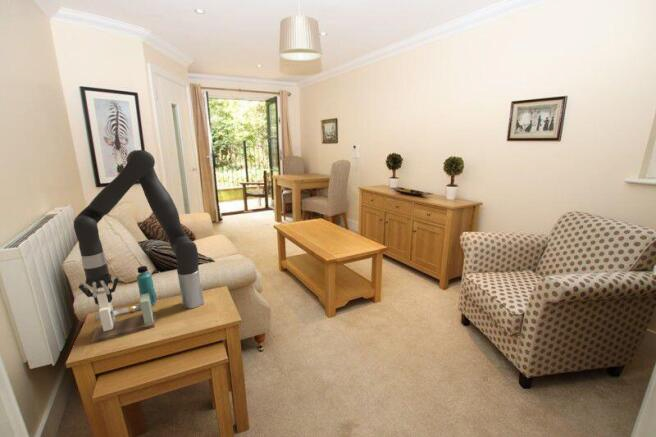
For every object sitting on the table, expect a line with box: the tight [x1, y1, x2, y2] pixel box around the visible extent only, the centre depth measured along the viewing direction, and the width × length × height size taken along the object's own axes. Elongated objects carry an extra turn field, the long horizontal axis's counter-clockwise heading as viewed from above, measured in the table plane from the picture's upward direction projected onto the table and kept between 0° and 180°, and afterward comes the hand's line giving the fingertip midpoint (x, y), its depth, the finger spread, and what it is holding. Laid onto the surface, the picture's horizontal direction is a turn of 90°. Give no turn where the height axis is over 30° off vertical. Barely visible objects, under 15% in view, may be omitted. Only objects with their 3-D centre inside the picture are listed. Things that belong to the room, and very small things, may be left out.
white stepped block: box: [97, 289, 116, 331], centre depth 128 cm, size 3×9×15 cm, turn 27°
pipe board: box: [91, 311, 156, 344], centre depth 133 cm, size 22×11×2 cm, turn 117°
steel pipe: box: [95, 303, 142, 321], centre depth 131 cm, size 18×3×3 cm, turn 117°
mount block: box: [139, 293, 154, 324], centre depth 135 cm, size 3×8×10 cm, turn 27°
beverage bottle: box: [136, 265, 157, 305], centre depth 149 cm, size 6×7×20 cm
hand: (104, 302), depth 127 cm, fingers closed on white stepped block, 3 cm apart
